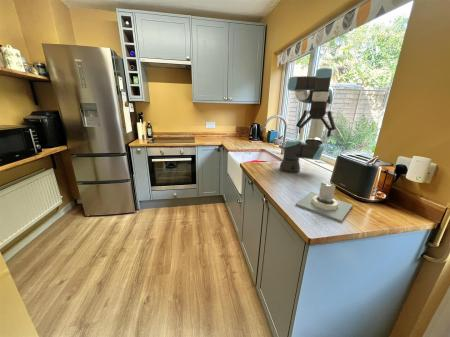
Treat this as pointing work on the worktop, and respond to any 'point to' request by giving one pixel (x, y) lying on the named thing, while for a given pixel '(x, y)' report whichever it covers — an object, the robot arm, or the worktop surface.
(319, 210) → the duct flange
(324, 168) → the worktop surface
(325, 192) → the duct collar
